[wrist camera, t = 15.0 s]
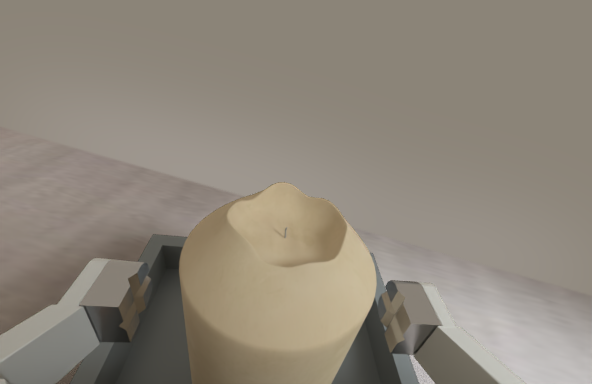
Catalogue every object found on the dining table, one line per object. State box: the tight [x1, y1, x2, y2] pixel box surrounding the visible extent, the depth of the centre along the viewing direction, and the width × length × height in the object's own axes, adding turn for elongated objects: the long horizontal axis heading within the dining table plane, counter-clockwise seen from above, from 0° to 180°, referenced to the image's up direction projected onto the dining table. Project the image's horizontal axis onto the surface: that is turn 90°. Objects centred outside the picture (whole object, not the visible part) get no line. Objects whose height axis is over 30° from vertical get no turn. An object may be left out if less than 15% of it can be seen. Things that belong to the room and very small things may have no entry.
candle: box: [179, 182, 377, 384], centre depth 10 cm, size 6×6×10 cm
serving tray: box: [70, 234, 419, 384], centre depth 12 cm, size 14×14×3 cm
